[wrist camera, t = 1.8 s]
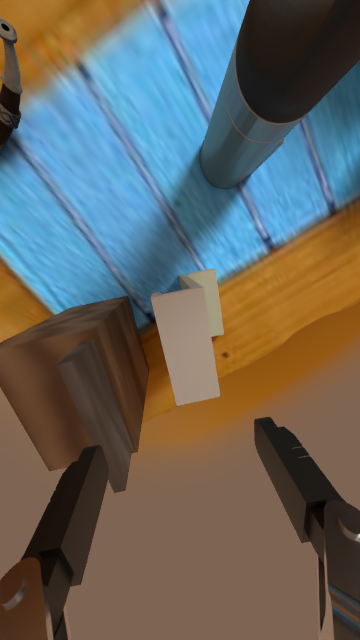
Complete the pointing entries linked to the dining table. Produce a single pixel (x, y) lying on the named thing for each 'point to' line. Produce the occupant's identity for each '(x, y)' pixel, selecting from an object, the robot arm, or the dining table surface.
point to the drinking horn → (9, 85)
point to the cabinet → (80, 384)
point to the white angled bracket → (190, 335)
